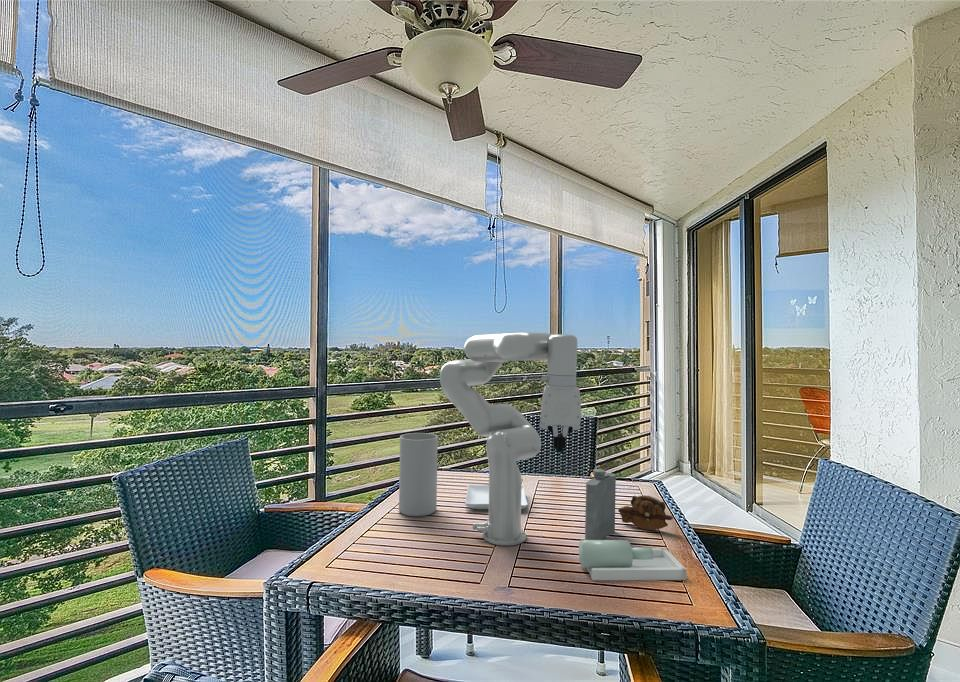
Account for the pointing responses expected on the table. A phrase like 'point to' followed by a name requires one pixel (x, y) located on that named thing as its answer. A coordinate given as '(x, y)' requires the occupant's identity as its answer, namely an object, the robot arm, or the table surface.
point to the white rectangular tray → (644, 569)
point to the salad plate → (485, 497)
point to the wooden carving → (645, 513)
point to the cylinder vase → (418, 474)
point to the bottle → (610, 553)
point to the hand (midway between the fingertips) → (559, 450)
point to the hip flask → (600, 505)
